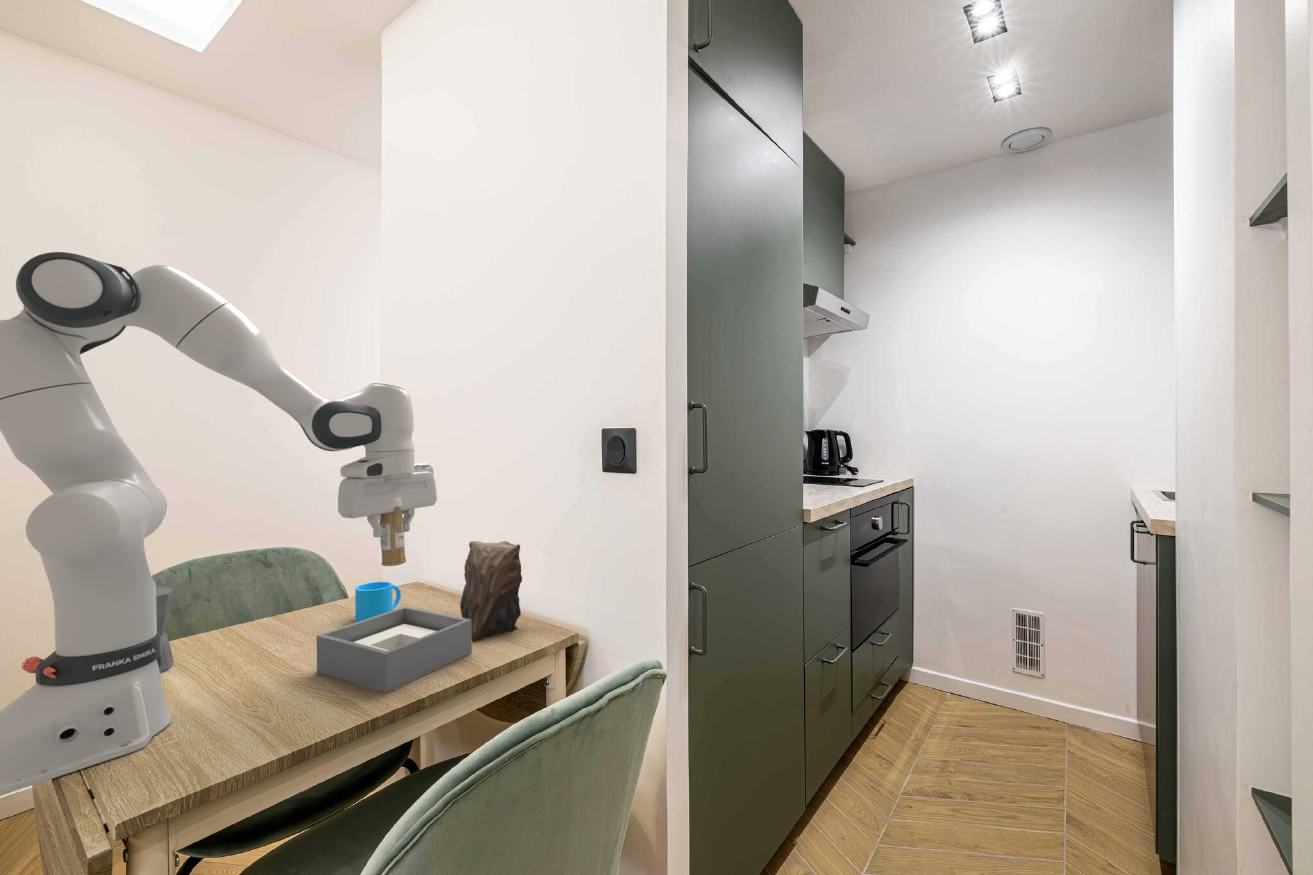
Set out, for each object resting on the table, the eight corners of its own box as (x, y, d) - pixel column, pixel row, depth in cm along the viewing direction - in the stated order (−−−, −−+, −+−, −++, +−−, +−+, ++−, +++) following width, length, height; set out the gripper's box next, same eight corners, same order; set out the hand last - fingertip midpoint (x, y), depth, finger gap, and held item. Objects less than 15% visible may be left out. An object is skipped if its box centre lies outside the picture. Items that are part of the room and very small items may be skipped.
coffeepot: (144, 658, 114) (142, 571, 114) (193, 656, 115) (192, 569, 115) (73, 694, 99) (71, 592, 98) (131, 691, 100) (129, 591, 99)
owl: (458, 625, 133) (458, 541, 133) (511, 616, 139) (510, 536, 139) (470, 642, 122) (470, 551, 122) (527, 631, 128) (526, 544, 128)
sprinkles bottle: (408, 563, 111) (404, 496, 111) (384, 568, 109) (379, 499, 109) (403, 560, 115) (399, 495, 115) (378, 564, 112) (374, 497, 112)
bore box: (386, 693, 98) (385, 654, 98) (317, 671, 107) (316, 635, 107) (471, 653, 116) (471, 619, 116) (406, 637, 125) (405, 606, 125)
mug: (372, 626, 132) (371, 592, 132) (347, 622, 136) (347, 588, 136) (412, 611, 144) (411, 579, 143) (388, 607, 147) (388, 576, 147)
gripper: (422, 462, 122) (423, 524, 123) (331, 468, 104) (333, 542, 104) (443, 462, 119) (444, 526, 120) (353, 469, 101) (355, 545, 101)
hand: (392, 534), depth 112 cm, fingers closed on sprinkles bottle, 4 cm apart
